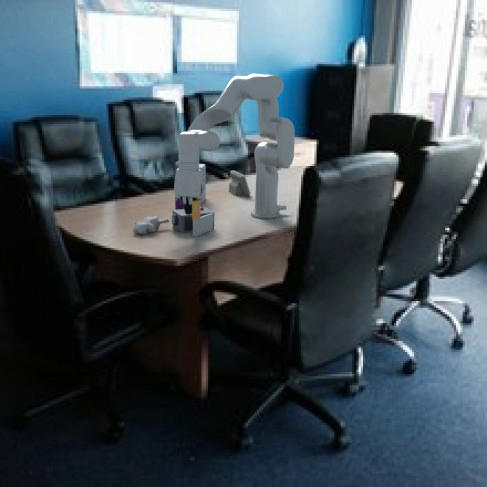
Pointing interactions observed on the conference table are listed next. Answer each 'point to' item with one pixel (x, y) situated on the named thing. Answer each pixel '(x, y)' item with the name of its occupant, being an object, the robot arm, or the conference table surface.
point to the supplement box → (203, 180)
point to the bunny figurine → (148, 225)
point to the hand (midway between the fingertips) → (188, 213)
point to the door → (201, 220)
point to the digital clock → (238, 184)
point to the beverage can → (179, 203)
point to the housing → (186, 219)
